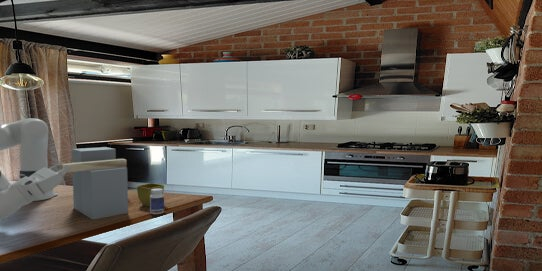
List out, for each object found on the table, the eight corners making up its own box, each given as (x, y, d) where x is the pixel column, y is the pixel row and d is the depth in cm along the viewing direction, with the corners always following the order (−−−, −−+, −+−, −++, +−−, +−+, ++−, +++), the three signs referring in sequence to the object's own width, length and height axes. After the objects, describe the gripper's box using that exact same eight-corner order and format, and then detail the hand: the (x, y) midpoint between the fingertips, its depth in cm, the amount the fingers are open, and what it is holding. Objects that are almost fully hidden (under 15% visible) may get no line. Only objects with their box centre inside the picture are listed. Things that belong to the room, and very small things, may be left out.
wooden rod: (60, 171, 141) (60, 163, 141) (122, 165, 157) (122, 158, 157) (63, 172, 138) (63, 165, 138) (126, 166, 155) (126, 159, 154)
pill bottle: (166, 212, 153) (166, 189, 152) (154, 215, 148) (154, 191, 148) (159, 210, 157) (159, 187, 156) (147, 212, 152) (146, 189, 152)
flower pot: (165, 204, 167) (164, 184, 166) (149, 208, 159) (149, 188, 159) (151, 201, 171) (151, 182, 171) (136, 205, 164) (136, 186, 163)
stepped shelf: (73, 208, 159) (71, 149, 158) (106, 202, 169) (105, 147, 168) (92, 219, 142) (90, 153, 141) (128, 212, 152) (126, 151, 150)
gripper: (28, 190, 141) (62, 169, 148) (41, 199, 126) (78, 176, 134) (18, 177, 138) (53, 157, 146) (30, 185, 123) (68, 162, 131)
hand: (65, 166), depth 140 cm, fingers open, 8 cm apart
